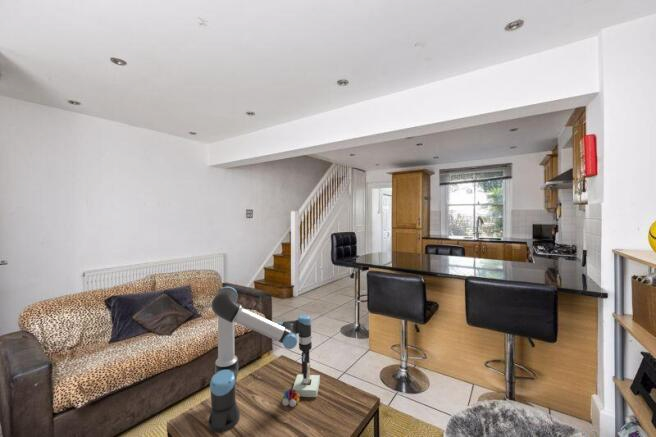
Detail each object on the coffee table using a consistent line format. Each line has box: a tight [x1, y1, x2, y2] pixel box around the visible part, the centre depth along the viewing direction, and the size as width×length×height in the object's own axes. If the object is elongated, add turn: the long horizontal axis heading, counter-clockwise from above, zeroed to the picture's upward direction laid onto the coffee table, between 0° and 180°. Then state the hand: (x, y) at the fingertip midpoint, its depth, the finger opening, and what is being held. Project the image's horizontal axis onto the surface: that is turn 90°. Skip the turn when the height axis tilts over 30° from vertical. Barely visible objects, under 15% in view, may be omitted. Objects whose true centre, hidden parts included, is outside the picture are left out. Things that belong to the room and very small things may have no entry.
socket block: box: [291, 374, 321, 398], centre depth 164 cm, size 14×14×4 cm
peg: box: [303, 362, 311, 385], centre depth 164 cm, size 4×4×14 cm
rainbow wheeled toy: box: [281, 388, 301, 408], centre depth 153 cm, size 8×10×7 cm
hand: (306, 380), depth 164 cm, fingers closed on peg, 4 cm apart
